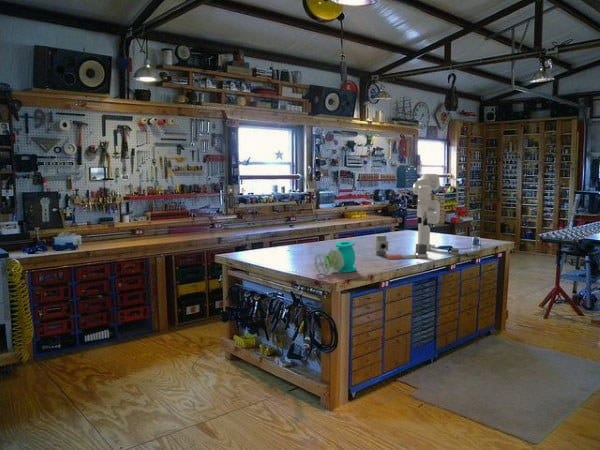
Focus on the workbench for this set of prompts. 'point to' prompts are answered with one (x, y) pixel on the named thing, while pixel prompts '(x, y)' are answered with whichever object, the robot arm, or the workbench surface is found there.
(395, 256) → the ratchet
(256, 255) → the workbench surface
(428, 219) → the robot arm
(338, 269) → the valve
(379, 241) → the circuit breaker
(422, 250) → the socket
